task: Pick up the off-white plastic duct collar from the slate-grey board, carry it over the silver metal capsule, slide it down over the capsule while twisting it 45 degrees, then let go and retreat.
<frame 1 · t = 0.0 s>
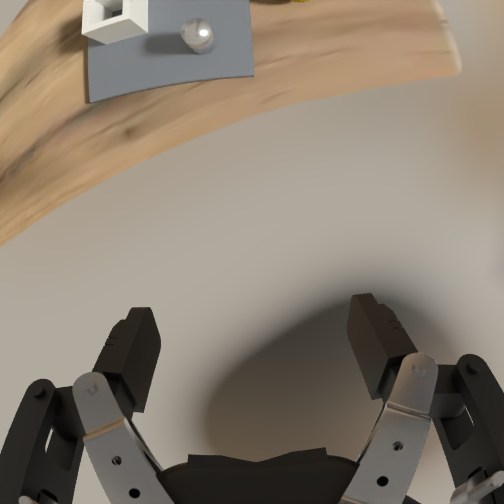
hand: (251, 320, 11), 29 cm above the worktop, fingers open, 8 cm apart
silver metal capsule: (204, 46, 29), resting on duct base
duct collar: (126, 20, 25), point 1 cm above the worktop, touching duct base
duct base: (165, 36, 28), on the worktop
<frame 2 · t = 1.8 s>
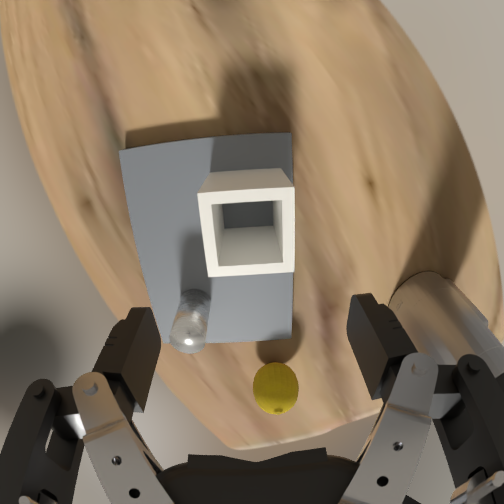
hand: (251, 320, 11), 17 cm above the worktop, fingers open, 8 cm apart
silver metal capsule: (197, 293, 31), resting on duct base
duct collar: (247, 203, 25), point 1 cm above the worktop, touching duct base
lemon: (273, 363, 36), on the worktop
duct base: (214, 250, 29), on the worktop
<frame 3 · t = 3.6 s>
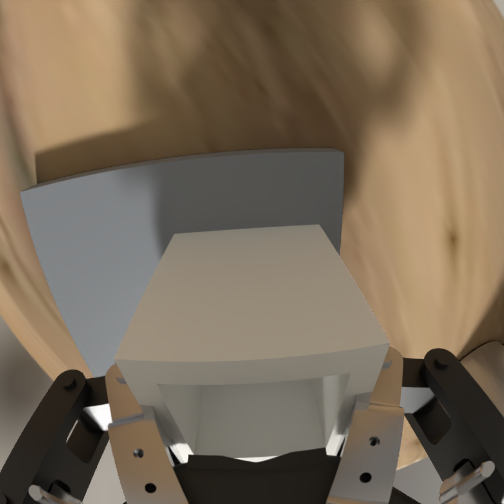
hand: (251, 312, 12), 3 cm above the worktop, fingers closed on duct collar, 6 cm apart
duct collar: (250, 290, 13), point 2 cm above the worktop, touching duct base, gripper
duct base: (197, 347, 17), on the worktop
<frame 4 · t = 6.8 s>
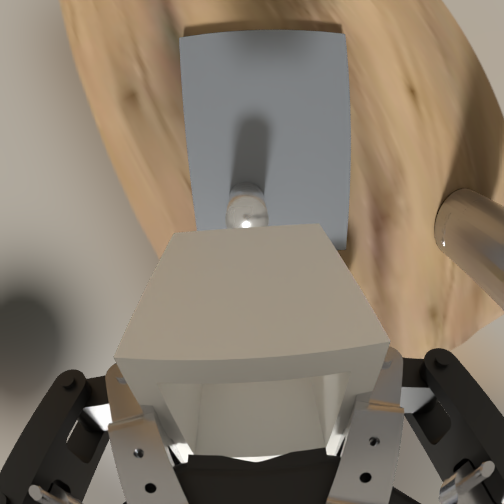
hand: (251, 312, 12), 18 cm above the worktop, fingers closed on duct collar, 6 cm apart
silver metal capsule: (246, 194, 28), resting on duct base
duct collar: (250, 289, 13), point 17 cm above the worktop, touching gripper
duct base: (269, 142, 26), on the worktop
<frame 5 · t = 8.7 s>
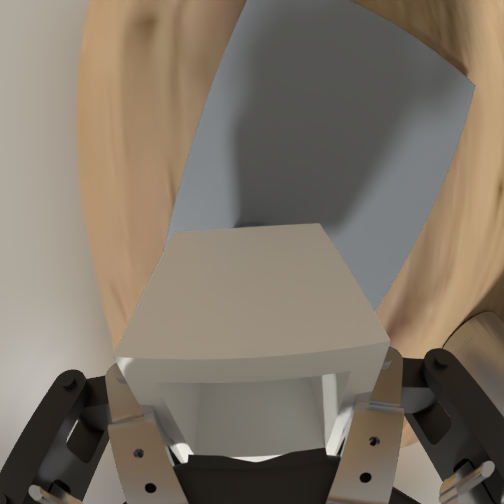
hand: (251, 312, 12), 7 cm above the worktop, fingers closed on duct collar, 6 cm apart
duct collar: (250, 289, 13), point 6 cm above the worktop, touching gripper
duct base: (319, 177, 17), on the worktop
when the fingers open (5 cm above the worktop, at t = 10.2 s): duct collar drops 1 cm, resting on duct base.
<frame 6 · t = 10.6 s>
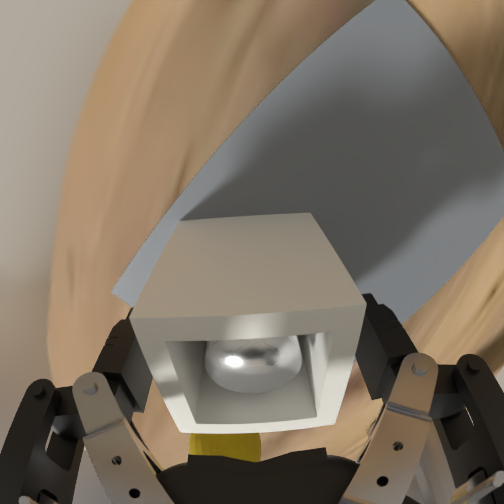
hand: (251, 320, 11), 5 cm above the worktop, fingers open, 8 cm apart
silver metal capsule: (248, 259, 16), resting on duct base
duct collar: (248, 273, 14), point 1 cm above the worktop, touching duct base
lemon: (226, 406, 22), on the worktop
duct base: (345, 223, 15), on the worktop
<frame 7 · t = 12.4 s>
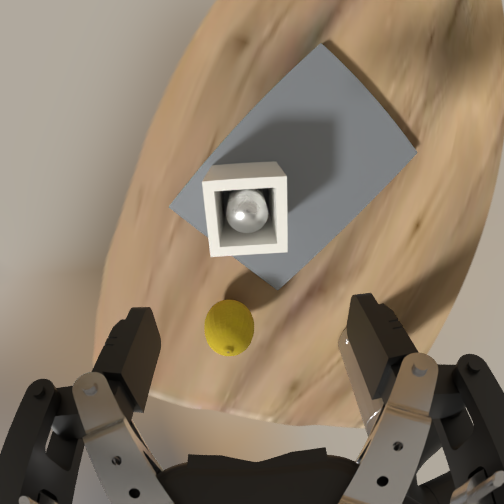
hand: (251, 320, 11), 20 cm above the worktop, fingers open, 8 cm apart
silver metal capsule: (246, 189, 29), resting on duct base
duct collar: (245, 193, 28), point 1 cm above the worktop, touching duct base
lemon: (230, 304, 35), on the worktop
duct base: (297, 170, 28), on the worktop
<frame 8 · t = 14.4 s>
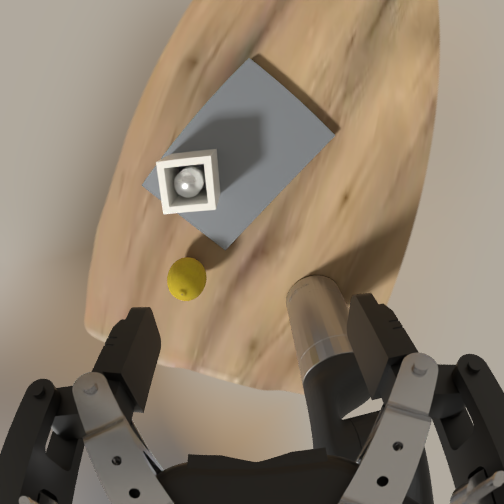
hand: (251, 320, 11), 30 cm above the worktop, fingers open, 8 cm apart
silver metal capsule: (197, 171, 38), resting on duct base
duct collar: (195, 173, 36), point 1 cm above the worktop, touching duct base
lemon: (191, 264, 44), on the worktop
duct base: (236, 155, 37), on the worktop
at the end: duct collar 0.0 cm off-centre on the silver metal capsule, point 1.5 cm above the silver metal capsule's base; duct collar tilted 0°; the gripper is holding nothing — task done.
